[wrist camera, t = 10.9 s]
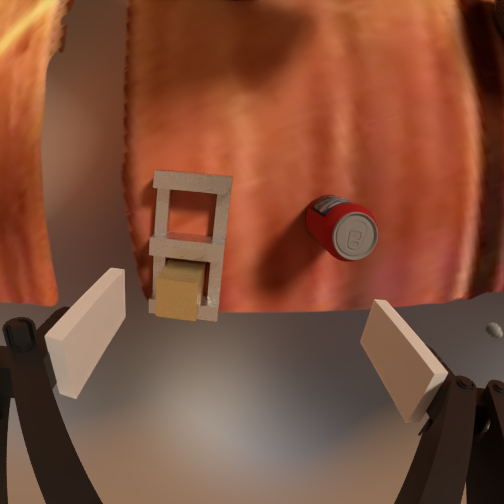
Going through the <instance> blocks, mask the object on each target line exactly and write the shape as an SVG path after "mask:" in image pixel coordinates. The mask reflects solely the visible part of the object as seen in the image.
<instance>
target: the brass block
mask: <svg viewBox="0 0 504 504" xmlns="http://www.w3.org/2000/svg"><path fill="white" fill-rule="evenodd" d="M205 268H206V262H204V261H195V260H186V259H178V258H170V259H169V260H168V262H167V263H166V264H165V266H164V267H163V269H162V270H161V272H160V273H159V275H158V276H157V278H156V316H158V317H165V318H172V319H180V320H189V321H196V319H197V315H198V311H199V307H200V303H201V298H202V294H203V290H204V280H205Z"/></svg>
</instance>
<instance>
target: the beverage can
mask: <svg viewBox="0 0 504 504" xmlns="http://www.w3.org/2000/svg"><path fill="white" fill-rule="evenodd" d="M306 225H307V228H308V230H309V232H310V233H311V234H312V236H313V237H314V238H315V239H316V240H317V241H318V242H319V243H320V244H321V245H322V246H323V247H324V248H325V249H326V250H327V251H328V252H329V253H330V254H331V255H332V256H333V257H335V258H337V259H339V260H341V261H355V260H359V259H362V258H364V257H366V256H367V255H369V254H370V253H371V252H372V250H373V249H374V247H375V245H376V243H377V239H378V230H377V224H376V221H375V218H374V216H373V215H372V213H371V212H370V211H369V210H368V209H366V208H365V207H363V206H361V205H358V204H356V203H353V202H351V201H348V200H345V199H343V198H340V197H337V196H333V195H324V196H321V197H319V198H317V199H315V200H314V201H313V202H312V203H311V204H310V206H309V208H308V210H307V213H306Z"/></svg>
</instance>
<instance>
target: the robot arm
mask: <svg viewBox="0 0 504 504" xmlns="http://www.w3.org/2000/svg"><path fill="white" fill-rule="evenodd" d="M124 271H125V270H123V269H117V268H110V269H109V270H108V271H107V272H106V273H105V274H104V275H103V276H102V277H101V278H100V279H99V280H98V281H97V282H96V283H95V284H94V285H93V286H92V287H91V288H90V289H89V290H88V291H87V292H86V293H85V294H84V295H83V296H82V297H81V298H80V299H79V300H78V301H77V302H76V303H75V304H74V305H73V306H72V307H71V308H70V307H63V308H60V309H58V310H56V311H55V312H54V313H53V314H52V315H51V316H50V318H48V319H47V320H46V321H45V323H43V324H42V325H41V326H40V327H39V328H38V329H37V330H36V327H35V324H34V322H33V321H32V320H31V319H29V318H25V317H17V318H13V319H11V320H9V321H7V322H6V323H5V324H4V325H3V333H4V337H5V340H6V344H7V346H0V504H8V497H7V476H6V475H7V474H6V473H7V471H6V457H7V432H8V417H9V408H10V399H11V398H15V402H16V406H17V412H18V416H19V421H20V425H21V429H22V433H23V437H24V441H25V444H26V447H27V451H28V454H29V458H30V461H31V464H32V467H33V470H34V473H35V476H36V479H37V482H38V484H39V487H40V489H41V492H42V495H43V497H44V500H45V502H46V504H103V503H102V502H101V500H100V498H99V497H98V495H97V493H96V491H95V489H94V487H93V486H92V484H91V482H90V480H89V478H88V476H87V474H86V472H85V470H84V468H83V466H82V464H81V462H80V459H79V457H78V455H77V453H76V451H75V448H74V446H73V444H72V442H71V439H70V437H69V434H68V432H67V430H66V427H65V424H64V422H63V420H62V417H61V414H60V411H59V409H58V406H57V403H56V400H55V397H54V394H53V391H52V389H53V388H54V386H55V384H56V383H57V386H58V389H59V393H60V394H62V395H65V396H68V397H71V398H74V399H77V397H78V395H79V393H80V392H81V390H82V388H83V386H84V385H85V383H86V381H87V379H88V378H89V376H90V374H91V372H92V371H93V369H94V367H95V366H96V364H97V362H98V361H99V359H100V357H101V356H102V354H103V352H104V351H105V349H106V347H107V346H108V344H109V343H110V341H111V339H112V338H113V336H114V335H115V333H116V331H117V330H118V328H119V327H120V325H121V323H122V322H123V320H124V319H125V317H126V313H125V272H124ZM360 343H361V345H362V346H363V348H364V350H365V352H366V353H367V355H368V356H369V358H370V360H371V362H372V364H373V365H374V367H375V369H376V371H377V372H378V374H379V376H380V378H381V379H382V381H383V383H384V385H385V387H386V388H387V390H388V392H389V394H390V395H391V397H392V399H393V401H394V403H395V405H396V406H397V408H398V410H399V412H400V414H401V416H402V417H403V419H404V421H405V423H406V424H409V423H415V422H419V421H420V420H421V419H422V417H423V416H424V414H425V412H427V414H428V415H429V419H428V421H427V422H426V424H425V425H424V427H423V428H422V430H421V431H420V432H419V434H418V435H421V434H422V436H421V439H420V442H419V445H418V448H417V451H416V453H415V456H414V459H413V461H412V464H411V466H410V469H409V471H408V474H407V476H406V479H405V481H404V483H403V486H402V488H401V490H400V492H399V494H398V497H397V499H396V501H395V503H394V504H460V503H461V499H462V495H463V491H464V487H465V482H466V495H467V504H504V383H503V382H501V381H497V380H491V381H489V383H488V384H487V386H486V388H485V389H482V388H476V385H475V384H474V382H473V381H471V380H470V379H469V378H467V377H464V376H455V375H454V374H453V373H452V371H451V370H450V369H449V368H448V367H447V365H446V364H445V363H444V362H442V359H441V358H440V357H438V355H437V354H436V352H435V351H434V350H433V349H432V348H430V347H429V346H427V345H426V344H424V343H423V342H422V341H421V339H420V338H419V337H418V336H417V335H416V334H415V333H414V331H413V330H412V329H411V328H410V327H409V326H408V324H407V323H406V322H405V321H404V320H403V319H402V318H401V317H400V315H399V314H398V313H397V312H396V311H395V310H394V309H393V308H392V306H391V305H390V304H389V303H388V302H387V301H386V300H376V299H374V301H373V305H372V308H371V311H370V314H369V317H368V320H367V323H366V326H365V329H364V332H363V335H362V338H361V341H360ZM489 424H490V426H489V429H487V427H488V425H489Z"/></svg>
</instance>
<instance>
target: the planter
mask: <svg viewBox="0 0 504 504" xmlns="http://www.w3.org/2000/svg"><path fill="white" fill-rule="evenodd" d="M493 16H494V21H495V24H496V27H497V29H498V31H499V32H500V34H501V36H502V37H503V39H504V0H494V12H493Z"/></svg>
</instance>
